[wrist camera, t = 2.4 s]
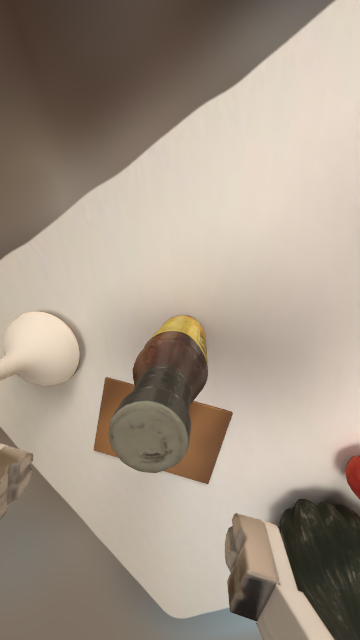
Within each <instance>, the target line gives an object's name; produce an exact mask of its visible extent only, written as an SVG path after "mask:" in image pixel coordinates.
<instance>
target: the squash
mask: <svg viewBox="0 0 360 640" xmlns="http://www.w3.org/2000/svg"><path fill="white" fill-rule="evenodd" d="M279 529H280V534H281V537H282V541H283V544H284V547H285V550H286V554H287V557H288V560H289V563H290V566H291V570H292V573H293V576H294V579H295V582H296V586H297V589H298V591H300V592H303V594H304V595H305V597H306V598H307V600H308V601H309V603H310V604H311V606H312V607H313V609H314V610H315V612H316V613H317V615H318V616H319V618H320V619H321V621H322V622H323V624H324V625H325V627H326V628H327V630H328V631H329V632H330V634H331V635H332V637H333V638H334V640H360V516H359V515H358V514H357V513H355V512H354V511H353V510H351V509H349V508H348V507H346V506H344V505H335V506H333V505H331V504H329V503H326V502H321V503H320V504H319V505H318V506H316V505H315V504H313V503H312V502H310V501H308V500H305V499H299V500H298V501H297V502H296V505H295V508H294V509H287V510H286V511H285V512H284V513H283V515H282V517H281V520H280V528H279Z"/></svg>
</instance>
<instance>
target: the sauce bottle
mask: <svg viewBox="0 0 360 640" xmlns="http://www.w3.org/2000/svg"><path fill="white" fill-rule="evenodd" d="M207 377H208V364H207V352H206V339H205V332H204V330H203V328H202V326H201V325H200V324H199V322H197V321H196V320H195V319H193V318H192V317H190V316H184V315H183V316H182V315H180V316H175V317H172V318H170V319H169V320H167V321H166V322H165V323H164V324H163V325H162V327H161V328H160V329H159V330H158V331H157V332H156V333H155V334H154V335H153V337H152V338H151V339H150V340H149V341H148V342H147V344H146V345H145V347H144V349H143V350H142V351H141V352H140V354H139V355H138V357H137V358H136V362H135V364H134V367H133V380H134V385H135V387H134V390H133V391H132V393H130V394H128V395H127V396H126V397H125V398H124V399H123V400H122V402H121V403H120V405H119V407H118V408H117V410H116V411H115V413H114V415H113V417H112V419H111V421H110V426H109V434H108V436H109V441H110V444H111V447H112V449H113V450H114V452H115V453H116V454H117V456H118V457H119V458H120V460H121V461H122V462H123V463H125V464H126V465H128V466H130V467H132V468H134V469H136V470H138V471H142V472H149V473H157V472H161V471H164V470H167V469H169V468H171V467H173V466H175V465H176V464H177V463H179V462H180V461H181V460H182V458H183V457H184V455H185V454H186V453H187V450H188V446H189V440H190V433H191V419H190V416H189V407H190V404H191V403H192V402H193V401H194V399H195V398H196V397H197V395H198V394H199V393H200V392H201V390H202V389H203V387H204V386H205V384H206V381H207Z"/></svg>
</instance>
